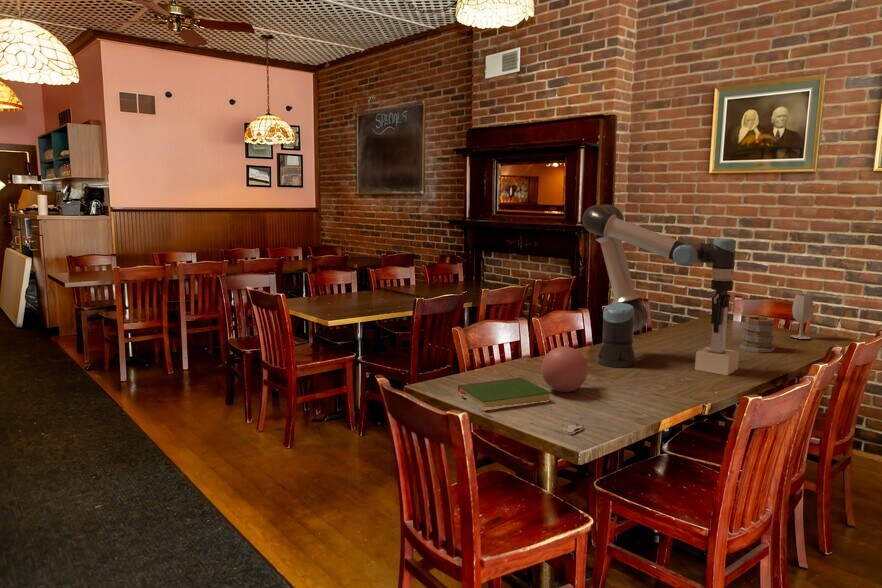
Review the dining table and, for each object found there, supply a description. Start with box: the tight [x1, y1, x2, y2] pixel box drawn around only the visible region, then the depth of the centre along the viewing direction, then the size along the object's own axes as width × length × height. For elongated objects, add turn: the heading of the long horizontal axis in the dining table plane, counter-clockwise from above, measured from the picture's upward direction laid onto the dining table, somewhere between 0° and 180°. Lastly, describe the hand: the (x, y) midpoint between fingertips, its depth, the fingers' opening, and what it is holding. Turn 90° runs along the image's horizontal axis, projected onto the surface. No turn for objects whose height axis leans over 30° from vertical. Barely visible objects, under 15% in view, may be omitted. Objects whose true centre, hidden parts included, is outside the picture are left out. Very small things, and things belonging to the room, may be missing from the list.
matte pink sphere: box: [541, 346, 591, 393], centre depth 212 cm, size 15×20×15 cm
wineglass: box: [790, 293, 815, 340], centre depth 293 cm, size 9×9×21 cm
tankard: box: [739, 311, 775, 353], centre depth 275 cm, size 20×13×15 cm, turn 179°
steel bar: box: [710, 307, 729, 354], centre depth 237 cm, size 4×4×20 cm
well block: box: [694, 346, 740, 376], centre depth 239 cm, size 12×12×7 cm
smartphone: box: [559, 422, 585, 433], centre depth 179 cm, size 7×1×15 cm
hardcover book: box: [457, 377, 552, 407], centre depth 204 cm, size 25×19×4 cm
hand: (718, 339), depth 238 cm, fingers closed on steel bar, 4 cm apart
